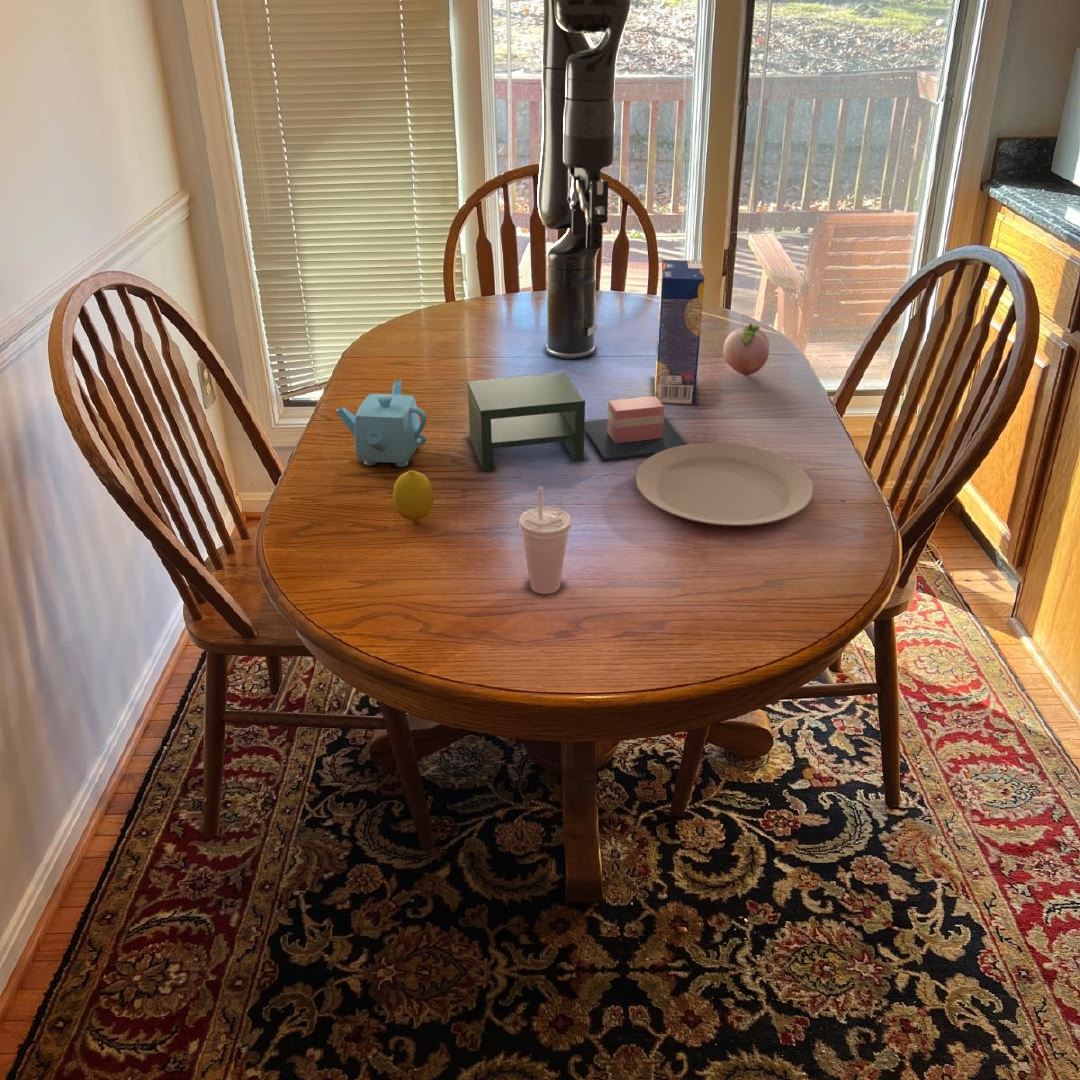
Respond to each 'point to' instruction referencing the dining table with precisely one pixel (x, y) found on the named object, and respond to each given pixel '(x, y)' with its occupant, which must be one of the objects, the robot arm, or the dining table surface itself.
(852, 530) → the dining table surface
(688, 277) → the beverage box
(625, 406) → the block
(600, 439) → the mat
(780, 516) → the plate
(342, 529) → the dining table surface
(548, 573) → the smoothie
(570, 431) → the shelf stand
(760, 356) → the decorative fruit
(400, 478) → the lemon
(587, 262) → the robot arm
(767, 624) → the dining table surface
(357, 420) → the teapot
